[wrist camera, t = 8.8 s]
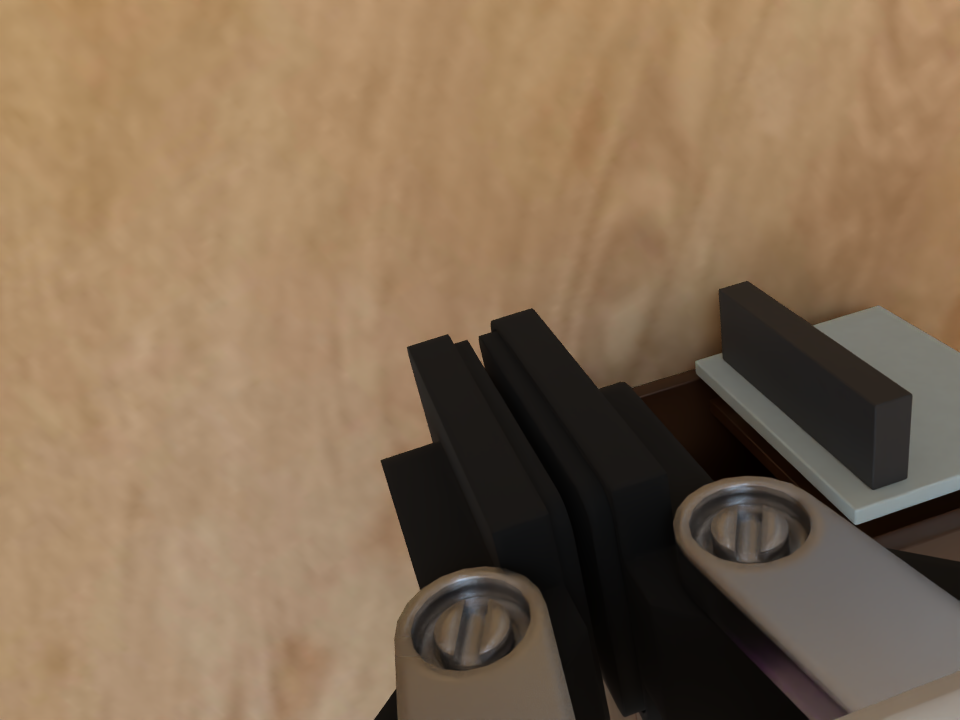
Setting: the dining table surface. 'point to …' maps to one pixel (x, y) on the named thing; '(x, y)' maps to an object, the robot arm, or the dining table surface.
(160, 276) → the dining table surface
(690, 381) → the cabinet
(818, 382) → the door
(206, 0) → the dining table surface
